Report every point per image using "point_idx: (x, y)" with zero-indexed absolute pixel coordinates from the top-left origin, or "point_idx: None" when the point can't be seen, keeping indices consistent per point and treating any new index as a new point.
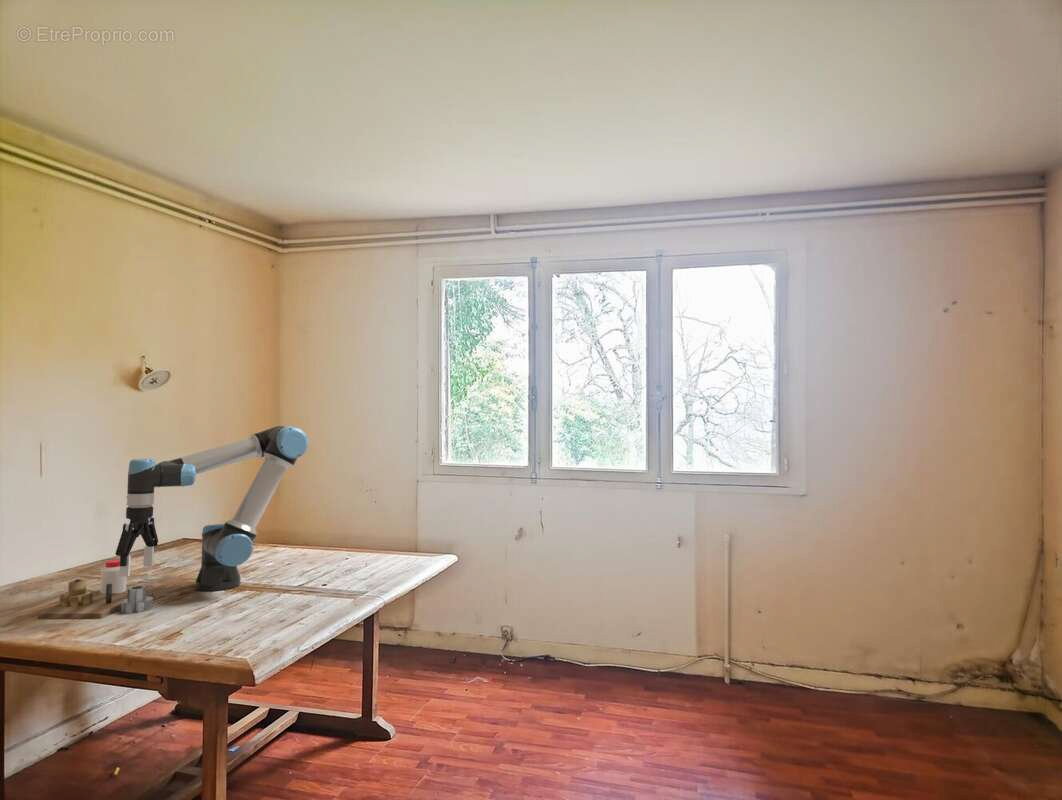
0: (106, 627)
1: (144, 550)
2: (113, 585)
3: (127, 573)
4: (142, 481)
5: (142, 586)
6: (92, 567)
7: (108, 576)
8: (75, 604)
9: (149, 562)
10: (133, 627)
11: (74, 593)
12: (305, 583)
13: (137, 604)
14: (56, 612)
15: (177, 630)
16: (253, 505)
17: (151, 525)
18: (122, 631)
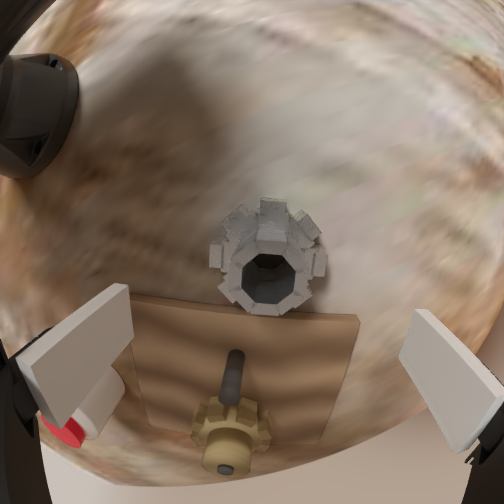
0: (439, 256)
1: (76, 406)
2: (107, 388)
3: (435, 322)
4: None
5: (246, 263)
6: None
7: (102, 416)
8: (268, 416)
9: (115, 313)
10: (451, 179)
11: (251, 443)
12: None
13: (315, 236)
14: (318, 422)
15: (463, 65)
16: None
17: None
18: (472, 197)
